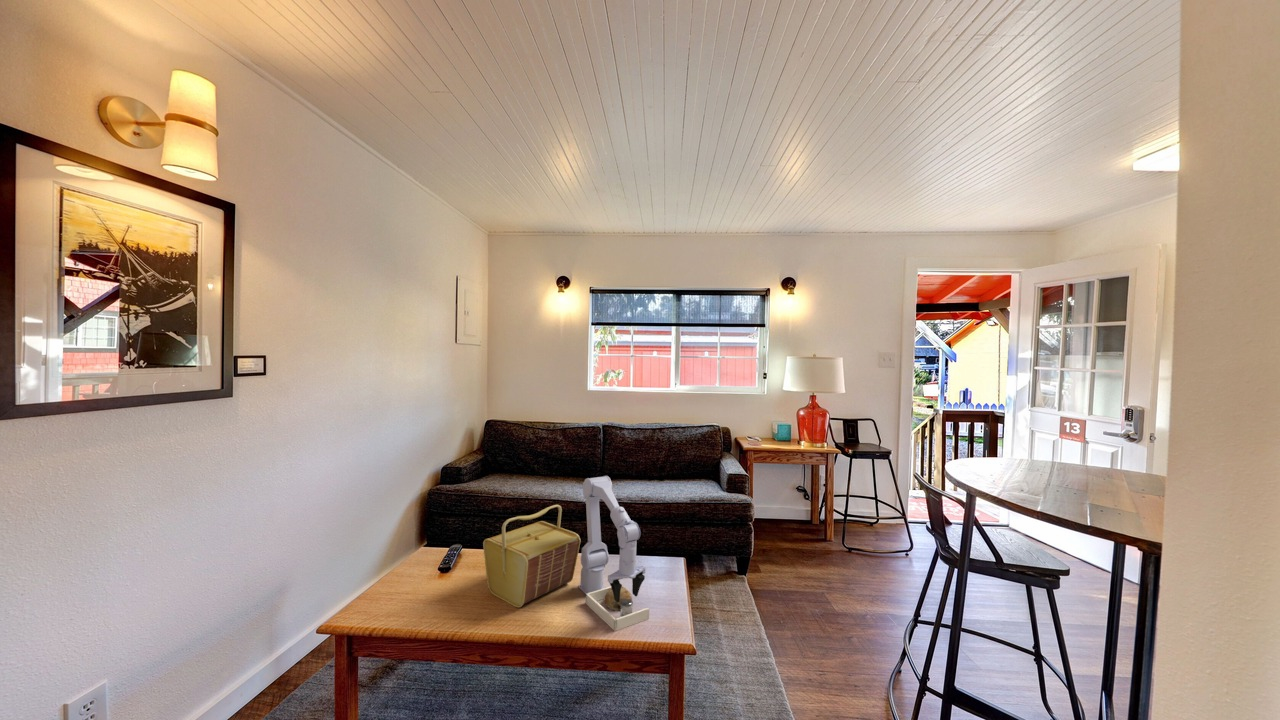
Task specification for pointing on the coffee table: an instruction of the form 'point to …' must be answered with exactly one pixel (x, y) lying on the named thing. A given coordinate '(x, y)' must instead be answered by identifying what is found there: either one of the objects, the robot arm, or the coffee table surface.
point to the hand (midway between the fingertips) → (625, 597)
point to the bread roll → (611, 602)
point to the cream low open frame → (607, 617)
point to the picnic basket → (530, 559)
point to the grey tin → (626, 607)
